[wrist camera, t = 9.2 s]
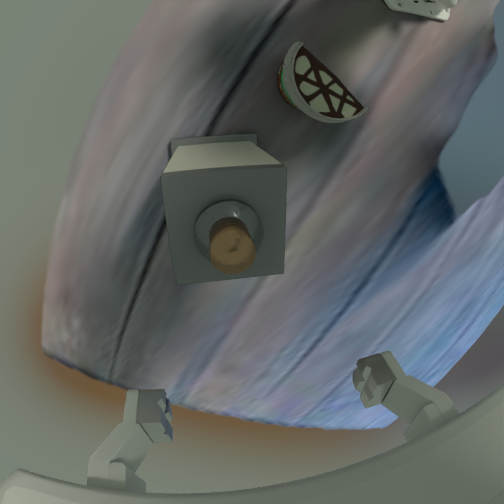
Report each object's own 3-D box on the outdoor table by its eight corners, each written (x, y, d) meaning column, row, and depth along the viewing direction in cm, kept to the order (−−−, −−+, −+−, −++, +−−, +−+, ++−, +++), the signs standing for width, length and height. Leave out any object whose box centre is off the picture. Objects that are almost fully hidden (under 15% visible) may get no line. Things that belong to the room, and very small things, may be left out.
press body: (255, 133, 39) (299, 155, 22) (256, 210, 45) (293, 280, 28) (171, 139, 37) (146, 166, 21) (179, 217, 43) (168, 294, 26)
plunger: (243, 156, 36) (283, 203, 19) (245, 207, 39) (280, 289, 23) (188, 160, 35) (177, 212, 18) (193, 212, 38) (190, 299, 22)
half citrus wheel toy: (249, 81, 35) (264, 74, 27) (277, 52, 34) (300, 38, 25) (312, 135, 40) (341, 145, 32) (336, 108, 39) (371, 111, 30)
